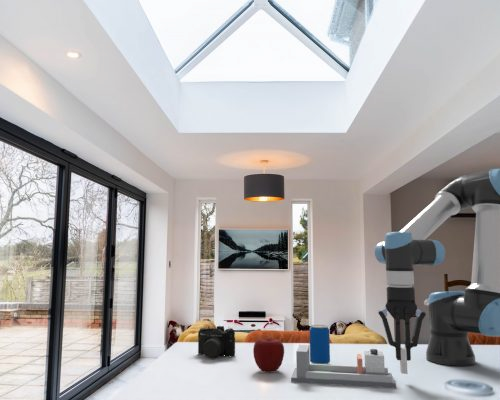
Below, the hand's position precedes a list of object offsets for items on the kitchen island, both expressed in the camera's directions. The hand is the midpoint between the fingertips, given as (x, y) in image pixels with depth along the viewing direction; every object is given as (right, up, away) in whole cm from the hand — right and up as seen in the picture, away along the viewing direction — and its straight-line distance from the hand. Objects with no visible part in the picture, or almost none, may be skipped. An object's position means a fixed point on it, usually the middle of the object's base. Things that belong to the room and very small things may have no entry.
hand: (403, 372), depth 121 cm
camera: (-56, -7, +32) cm, 65 cm away
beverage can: (-20, -6, +22) cm, 30 cm away
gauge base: (-17, -3, +3) cm, 17 cm away
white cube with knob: (-8, -1, +1) cm, 8 cm away
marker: (-12, -2, +2) cm, 12 cm away
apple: (-37, -5, +12) cm, 39 cm away
